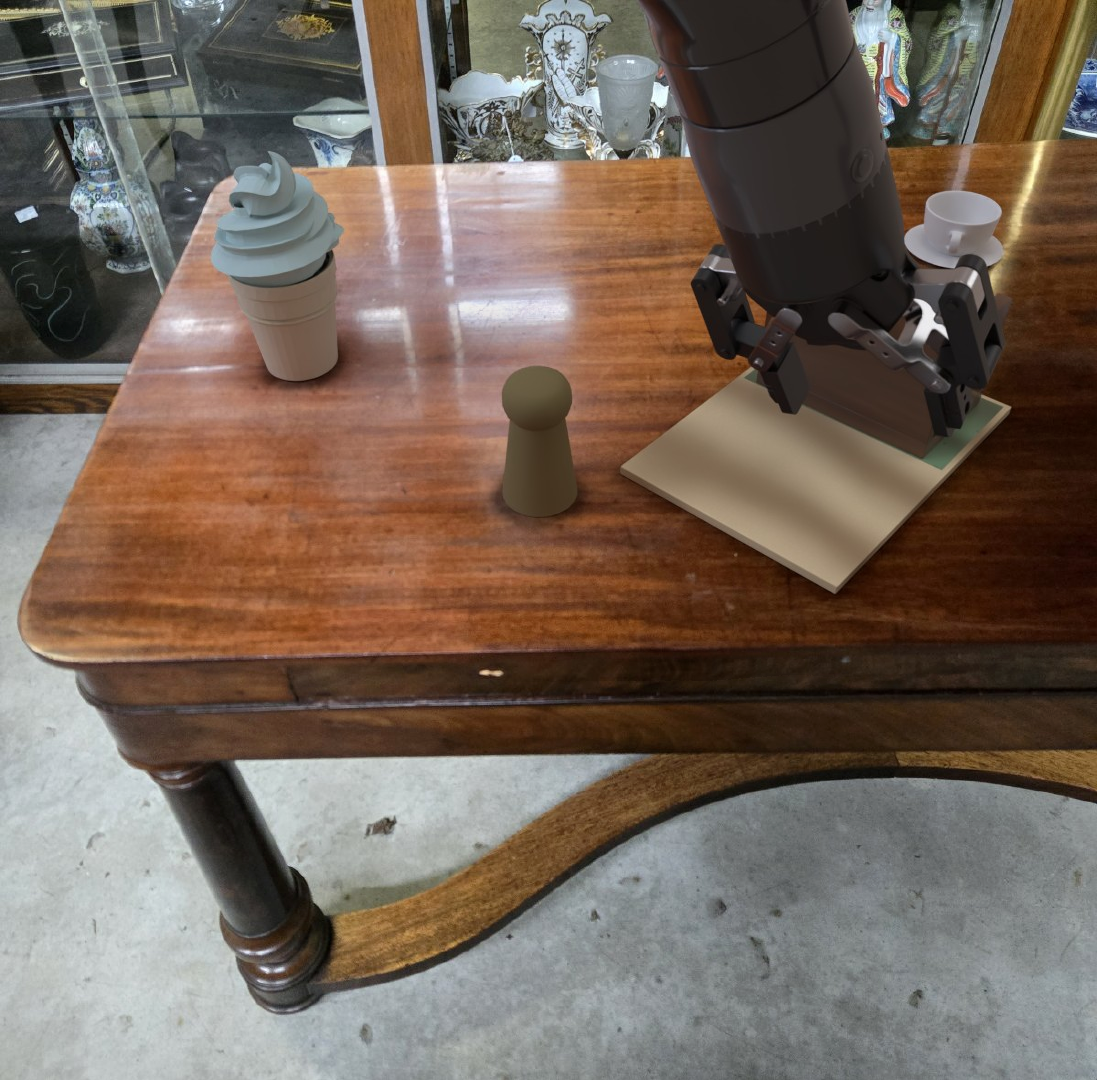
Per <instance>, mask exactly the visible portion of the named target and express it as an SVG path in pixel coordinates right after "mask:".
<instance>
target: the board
mask: <svg viewBox="0 0 1097 1080" xmlns="http://www.w3.org/2000/svg"><path fill="white" fill-rule="evenodd" d="M757 373H758V370H756V369H754V368H752V367H751V366H750V367H749V368H748V369H746V370H745V371H744V372H742V373H741V374H740V375H738V376H737V377H736V378H734V379H733V380H732V381H730V382H729V383H728V384H727V385H725V386H723V388H721V389H720V390H719V391H718V392H716V393H715V394H713V395H712V396H711V397H710V398H708V399H707V400H705V402H703V403H702V404H700V405H699V406H698V407H697V408H695V409H694V410H693V411H691V412H689V414H688V415H686V416H685V417H684V418H682V419H681V420H679V421H678V422H677V423H675V424H674V425H673V426H672V427H670V428H669V429H667V430H666V431H665V432H664V433H662V434H661V435H660V436H658V437H657V438H656V439H655V440H653V441H652V442H651V443H649V444H648V445H646V446H645V447H644V448H642V449H641V450H640V451H639V452H638V453H636V454H635V455H634V456H632V457H631V458H630V459H628V460H627V461H625V462H624V463H623V464H621V466H620V472H619V473H620V475H622V476H624V477H625V478H627V479H629V480H631V481H632V482H634V483H636V484H637V485H639V486H641V487H643V488H644V489H646V490H648V491H650V492H652V493H654V494H656V495H657V496H659V497H661V498H663V499H664V500H666V501H668V502H670V503H671V504H674V505H675V506H677V507H679V508H680V509H683V510H684V511H686V512H688V513H690V514H692V515H693V516H695V517H697V518H699V519H700V520H702V521H704V522H706V523H708V524H709V525H711V526H713V527H714V528H716V529H718V530H720V531H722V532H723V533H725V534H727V535H729V536H731V537H732V538H735V540H738V541H739V542H740V543H743V544H745V545H746V546H748V547H750V548H752V549H754V550H756V551H757V552H759V553H761V554H763V555H765V556H766V557H768V558H770V559H772V560H774V562H777V563H779V564H780V565H782V566H784V567H785V568H788V569H789V570H791V571H793V572H795V573H797V574H798V575H800V576H802V577H804V578H805V579H807V580H809V581H810V582H812V583H814V584H816V585H818V586H820V587H821V588H823V589H825V590H827V591H829V593H830V592H831V593H832V594H834V595H837V593H838V592H839V591H840V590H841V589H843V587H844V586H846V584H847V583H848V582H849V581H850V580H851V579H852V578H853V577H854V575H855V574H857V573H858V571H860V569H862V567H863V566H864V565H865V564H866V563H867V562H868V561H869V560H870V559H871V558H872V557H873V556H874V555H875V554H876V553H877V552H878V551H879V549H881V547H883V545H885V544H886V542H887V541H888V540H889V539H890V538H891V537H892V536H893V535H894V534H895V533H896V532H897V531H898V530H899V529H900V528H901V527H902V526H903V524H905V522H907V521H908V519H910V517H911V516H913V514H914V513H916V511H917V510H918V509H919V508H920V507H921V506H922V505H923V504H924V503H925V502H926V501H927V500H928V499H929V498H930V497H931V496H932V494H934V493H935V492H936V490H938V489H939V487H941V485H943V484H944V482H945V481H946V480H947V479H948V478H949V477H950V476H951V475H952V474H953V473H954V472H955V471H956V470H957V469H958V467H960V466H961V465H962V463H964V461H966V459H968V457H969V456H971V454H972V453H973V452H974V451H975V450H977V448H979V446H980V445H981V444H982V443H983V442H984V441H985V440H986V438H988V436H990V434H991V433H992V432H993V431H994V430H996V428H997V427H998V426H999V425H1000V424H1001V423H1002V422H1003V421H1004V420H1005V419H1006V418H1007V417H1008V416H1009V415H1010V412H1011V409H1012V406H1011V405H1008V404H1005V403H1003V402H1000V401H998V400H996V399H993V398H991V397H989V396H986V395H984V394H982V395H981V398H980V401H979V403H978V404H977V405H976V406H975V407H974V408H973V409H972V410H971V411H970V412H969V413H968V414H967V416H966V418H965V420H964V422H963V425H962V427H961V429H955V430H954V432H953V434H952V436H951V437H950V438H949V437H944V438H943V439H942V440H941V441H940V442H939V443H938V444H937V445H936V446H935V447H934V448H933V449H932V450H931V451H930V452H929V453H928V454H927V455H926V456H925V457H924V458H923V459H920V458H918V457H916V456H914V455H912V454H909V453H907V452H905V451H903V450H901V449H899V448H897V447H894V446H892V445H890V444H888V443H886V442H884V441H881V440H879V439H877V438H875V437H873V436H871V435H869V434H866V433H864V432H862V431H860V430H858V429H856V428H854V427H851V426H849V425H847V424H845V423H843V422H841V421H838V420H836V419H834V418H832V417H830V416H828V415H826V414H823V413H821V412H819V411H817V410H815V409H813V408H810V407H808V406H806V405H804V404H802V406H801V408H800V409H799V411H798V413H797V414H796V415H793V414H787V413H782V411H781V409H780V407H779V404H778V403H775V402H774V401H773V400H772V398H771V397H770V395H769V393H768V391H767V390H768V389H767V388H766V387H765V386H763V385H761V384H759V383H757V382H756V380H757Z"/></svg>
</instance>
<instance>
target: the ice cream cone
mask: <svg viewBox="0 0 1097 1080" xmlns="http://www.w3.org/2000/svg"><path fill="white" fill-rule="evenodd" d="M267 153H268V155H269V157H270V158H271V164H270V163H267V162H263V163H260V165H258V166H257V165H241V166H237V167H236V169H234V171H233V178H234V180H235V181H236V183H237V185H236V186H235V187H234V188H233V189H232V191H231V192H230V193H229V195H228V202H229V205H230V206H231V207H232V208H233V209H232V210H231V211H229V212H226V213H225V214H223V215H222V216H220V217H219V218H218V219H217V220H216V226H215V227H217V228H216V229H215V231H214V234H213V235H214V236H213V237H214V241H215V242H216V243H215V244H214V246H213V247H212V249H211V252H210V262H211V264H212V266H213V267H214V268H215V270H217V271H218V272H220V273H222V274H224V275H227V278H228V281H229V284H230V287H231V288H232V289H233V291H234V295H235V298H236V301H237V304H238V306H239V308H240V310H241V312H242V314H243V315H244V316H245V317H246V319H247V321H248V324H249V326H250V329H251V331H252V334H253V336H254V339H255V341H256V344H257V346H258V348H259V351H260V353H261V357H262V359H263V361H264V363H265V366H266V369H267V370H268V373H270V374H271V375H272V376H273V377H275V378H278V379H280V380H284V381H290V382H291V381H292V382H302V381H308V380H313V379H316V378H319V377H321V376H323V375H325V374H327V373H328V372H330V371H331V370H333V368H334V367H335V366H336V364H337V362H338V360H339V352H338V351H339V350H338V349H339V348H338V333H337V332H338V331H337V330H338V329H337V312H336V301H337V298H338V281H337V274H336V273H337V263H336V256H335V252H334V250H333V249H335V248H336V247H337V246H339V244H340V238H341V237H342V235H343V234H344V232H345V228H344V226H342V225H341V224H338V223H337V222H335V220H336V216H335V215H334V214H333V213H332V212H329V206H328V203H327V201H326V199H325V197H323V196H322V195H321V194H320V193H319V192H317V191H315V188H314V185H313V182H312V181H311V180H310V179H309V178H308V176H305V175H304V174H301V173H298V172H294V169H293V168H292V166H291V164H290V163H289V162H288V161H287V159H286V158H285V157H284V156H282V155H281V154H279V153H278V152H276V151H275V152H274V151H271V150H267Z"/></svg>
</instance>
